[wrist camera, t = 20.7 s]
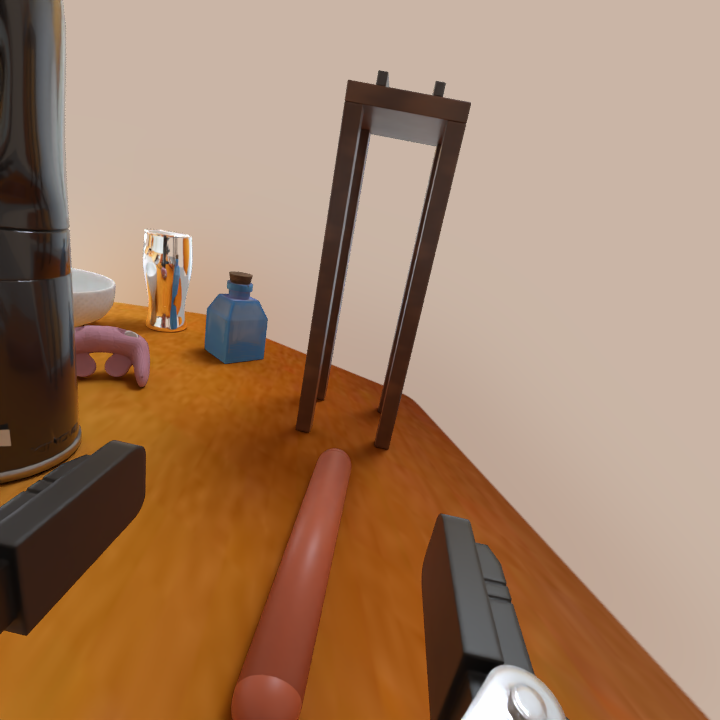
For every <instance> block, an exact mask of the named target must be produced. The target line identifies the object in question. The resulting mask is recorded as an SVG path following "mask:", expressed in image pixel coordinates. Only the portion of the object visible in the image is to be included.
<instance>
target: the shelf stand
mask: <svg viewBox="0 0 720 720" xmlns="http://www.w3.org/2000/svg"><path fill="white" fill-rule="evenodd" d="M445 85H446V83H444V82H439V81H436V83H435V87H434V91H433V95H428V94H422V93H417V92H412V91H406V90H400V89H396V88H390V87H389V77H388V72H384V71H380V70H379V71H378V77H377V82H376V85H374V84H369V83H363V82H358V81H352V80H348V83H347V89H346V96H345V103H344V110H343V116H342V123H341V130H340V136H339V143H338V150H337V156H336V164H335V170H334V176H333V183H332V190H331V196H330V203H329V210H328V217H327V224H326V230H325V236H324V243H323V250H322V257H321V264H320V270H319V277H318V283H317V290H316V297H315V304H314V310H313V317H312V324H311V331H310V337H309V344H308V350H307V357H306V364H305V370H304V377H303V384H302V390H301V397H300V404H299V411H298V417H297V424H296V430H299V431H304V432H308V433H309V432H310V430H311V428H312V424H313V418H314V412H315V406H316V400H317V399H319V400H324V398H325V396H326V391H327V385H328V379H329V374H330V368H331V361H332V355H333V350H334V344H335V339H336V333H337V326H338V321H339V315H340V309H341V303H342V298H343V292H344V286H345V280H346V275H347V269H348V263H349V257H350V251H351V245H352V239H353V234H354V228H355V222H356V216H357V210H358V204H359V198H360V193H361V187H362V181H363V175H364V170H365V164H366V158H367V152H368V146H369V141H370V134H374V135H380V136H384V137H390V138H395V139H400V140H406V141H411V142H416V143H421V144H427V145H432V146H436V150H435V155H434V159H433V164H432V168H431V173H430V177H429V182H428V186H427V191H426V195H425V200H424V204H423V209H422V213H421V218H420V223H419V227H418V232H417V236H416V241H415V245H414V250H413V254H412V259H411V263H410V268H409V272H408V277H407V281H406V286H405V290H404V295H403V299H402V304H401V309H400V313H399V318H398V322H397V327H396V331H395V336H394V340H393V345H392V349H391V354H390V358H389V363H388V368H387V372H386V376H385V381H384V385H383V390H382V394H381V399H380V403H379V409H378V412H381V416H380V420H379V425H378V429H377V434H376V438H375V447H379V448H384V449H389V445H390V441H391V436H392V432H393V428H394V424H395V420H396V415H397V411H398V407H399V403H400V399H401V395H402V390H403V386H404V382H405V378H406V374H407V369H408V365H409V361H410V357H411V353H412V348H413V344H414V340H415V336H416V332H417V327H418V323H419V319H420V315H421V311H422V307H423V303H424V298H425V294H426V290H427V286H428V282H429V277H430V273H431V269H432V265H433V260H434V256H435V252H436V248H437V244H438V240H439V235H440V231H441V227H442V223H443V219H444V215H445V210H446V206H447V202H448V198H449V194H450V190H451V185H452V181H453V177H454V173H455V168H456V164H457V160H458V156H459V151H460V148H461V143H462V139H463V135H464V131H465V127H466V123H467V119H468V114H469V110H470V106H471V103H470V102H466V101H460V100H455V99H450V98H444V97H443V94H444V89H445Z"/></svg>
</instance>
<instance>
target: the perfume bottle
mask: <svg viewBox="0 0 720 720" xmlns="http://www.w3.org/2000/svg"><path fill="white" fill-rule="evenodd" d="M229 273H230V280H228V281H227V288H228V289H229V294H219V295H218V296H217V297H216V298H215V299H214V301H213V302H212V303H211V304H210V306H209V307H208V308H207V318H206V334H205V350H207V351H208V352H209V353H211V354H212V355H214V356H215V357H216V358H218V359H219V360H220V361H222V362H223V363H225V364H227V363H235V362H243V361H251V360H259V359H263V357H264V348H265V339H266V330H267V321H268V319H267V317H266V315H265V313H264V311H263V309H262V307H261V304H260V302H259V301H258V300H256V299H253V298H252V297H250V292H252V288H253V284H252V283H250V282H251V279H252V275H251V274H247V273H242V272H229Z"/></svg>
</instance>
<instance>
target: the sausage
mask: <svg viewBox="0 0 720 720" xmlns="http://www.w3.org/2000/svg"><path fill="white" fill-rule="evenodd" d="M350 472H351V461H350V458H349V456H348V455H347V454H346V453H345V452H344V451H342V450H340V449H335V448H334V449H329V450H326V451H325V452H323V453H322V454H321V455H320V457H319V459H318V461H317V464H316V467H315V469H314V472H313V475H312V478H311V480H310V483H309V486H308V489H307V491H306V494H305V497H304V500H303V502H302V505H301V508H300V511H299V513H298V516H297V519H296V522H295V524H294V527H293V530H292V533H291V535H290V538H289V541H288V544H287V546H286V549H285V552H284V555H283V557H282V560H281V563H280V566H279V568H278V571H277V574H276V577H275V579H274V582H273V585H272V588H271V590H270V593H269V596H268V599H267V601H266V604H265V607H264V610H263V612H262V615H261V618H260V621H259V623H258V626H257V629H256V632H255V634H254V637H253V640H252V643H251V645H250V648H249V651H248V654H247V656H246V659H245V662H244V665H243V667H242V670H241V673H240V676H239V678H238V681H237V684H236V687H235V690H234V693H233V697H232V705H231V713H232V720H298V718H299V715H300V711H301V708H302V703H303V698H304V694H305V689H306V684H307V679H308V674H309V669H310V665H311V660H312V655H313V650H314V645H315V641H316V636H317V631H318V626H319V621H320V617H321V612H322V607H323V602H324V597H325V592H326V588H327V583H328V578H329V573H330V568H331V564H332V559H333V554H334V549H335V544H336V539H337V535H338V530H339V525H340V520H341V515H342V511H343V506H344V501H345V496H346V491H347V486H348V482H349V477H350Z"/></svg>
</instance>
